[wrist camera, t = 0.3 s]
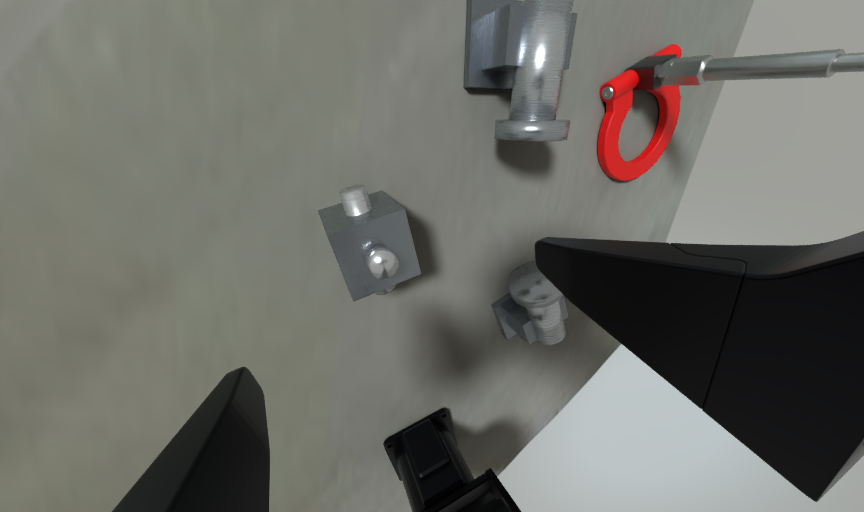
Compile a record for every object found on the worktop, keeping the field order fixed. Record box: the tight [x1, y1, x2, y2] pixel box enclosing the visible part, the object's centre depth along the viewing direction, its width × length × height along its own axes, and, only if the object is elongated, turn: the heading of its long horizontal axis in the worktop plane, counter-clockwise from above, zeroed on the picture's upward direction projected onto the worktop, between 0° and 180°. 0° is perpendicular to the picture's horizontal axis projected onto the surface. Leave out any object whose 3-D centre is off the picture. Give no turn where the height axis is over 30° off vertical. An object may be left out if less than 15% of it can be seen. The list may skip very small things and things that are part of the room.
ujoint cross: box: [318, 185, 421, 302], centre depth 18 cm, size 6×4×6 cm, turn 12°
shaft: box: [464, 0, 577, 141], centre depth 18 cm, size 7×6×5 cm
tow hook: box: [598, 44, 864, 181], centre depth 21 cm, size 8×13×9 cm
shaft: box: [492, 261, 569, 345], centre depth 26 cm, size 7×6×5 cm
